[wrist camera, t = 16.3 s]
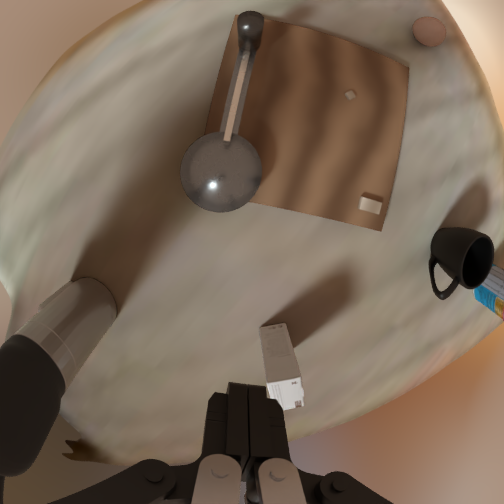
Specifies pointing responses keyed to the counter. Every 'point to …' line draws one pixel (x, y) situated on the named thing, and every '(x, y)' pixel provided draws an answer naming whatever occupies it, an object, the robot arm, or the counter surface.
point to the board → (319, 122)
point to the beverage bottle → (492, 291)
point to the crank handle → (228, 138)
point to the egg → (429, 31)
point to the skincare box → (281, 366)
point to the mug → (461, 258)
